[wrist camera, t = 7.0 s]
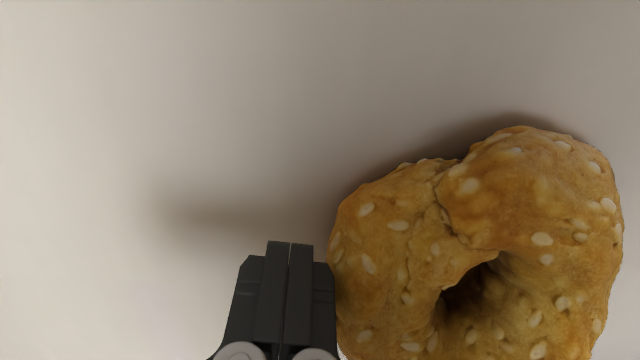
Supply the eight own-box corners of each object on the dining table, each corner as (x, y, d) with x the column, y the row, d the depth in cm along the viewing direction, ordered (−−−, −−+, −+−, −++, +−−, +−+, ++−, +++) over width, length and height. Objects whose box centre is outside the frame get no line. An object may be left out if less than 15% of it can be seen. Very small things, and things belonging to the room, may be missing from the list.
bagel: (664, 196, 14) (801, 309, 10) (449, 346, 19) (481, 459, 15) (455, 43, 11) (531, 115, 7) (272, 271, 16) (254, 385, 12)
